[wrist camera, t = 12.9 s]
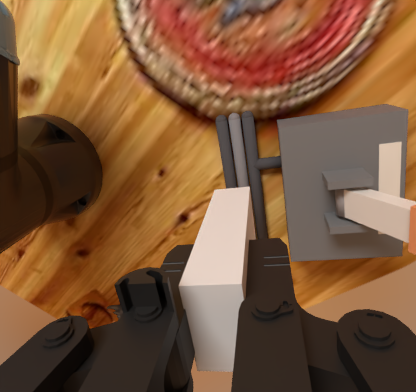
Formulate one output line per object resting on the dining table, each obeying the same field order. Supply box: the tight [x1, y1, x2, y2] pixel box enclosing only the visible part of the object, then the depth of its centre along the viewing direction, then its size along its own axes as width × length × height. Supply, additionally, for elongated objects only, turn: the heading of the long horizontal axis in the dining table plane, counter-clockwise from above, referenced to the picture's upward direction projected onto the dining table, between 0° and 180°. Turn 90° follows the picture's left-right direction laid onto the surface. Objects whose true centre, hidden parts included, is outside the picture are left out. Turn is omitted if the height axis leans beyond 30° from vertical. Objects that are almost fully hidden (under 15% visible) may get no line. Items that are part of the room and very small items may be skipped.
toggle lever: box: [335, 187, 416, 255], centre depth 28 cm, size 2×4×11 cm
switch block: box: [277, 104, 408, 262], centre depth 35 cm, size 12×16×10 cm
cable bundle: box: [216, 111, 282, 239], centre depth 40 cm, size 8×19×1 cm, turn 10°
